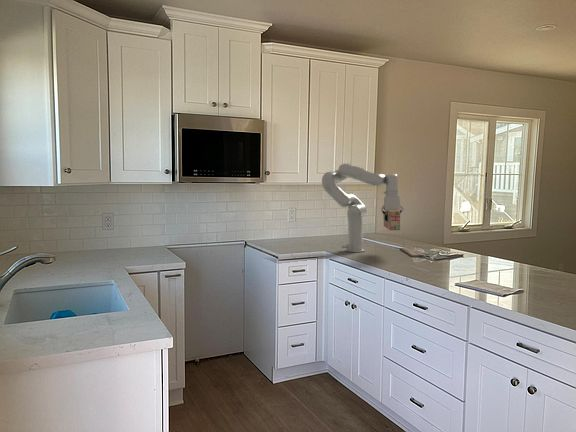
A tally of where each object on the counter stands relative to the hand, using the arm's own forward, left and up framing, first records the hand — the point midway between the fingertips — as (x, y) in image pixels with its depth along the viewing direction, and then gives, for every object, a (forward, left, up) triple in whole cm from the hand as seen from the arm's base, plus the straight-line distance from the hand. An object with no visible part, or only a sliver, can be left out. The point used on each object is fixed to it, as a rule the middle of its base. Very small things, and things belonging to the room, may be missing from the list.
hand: (391, 220), depth 301 cm
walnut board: (+16, 0, -22) cm, 27 cm away
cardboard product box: (0, +1, -5) cm, 5 cm away
